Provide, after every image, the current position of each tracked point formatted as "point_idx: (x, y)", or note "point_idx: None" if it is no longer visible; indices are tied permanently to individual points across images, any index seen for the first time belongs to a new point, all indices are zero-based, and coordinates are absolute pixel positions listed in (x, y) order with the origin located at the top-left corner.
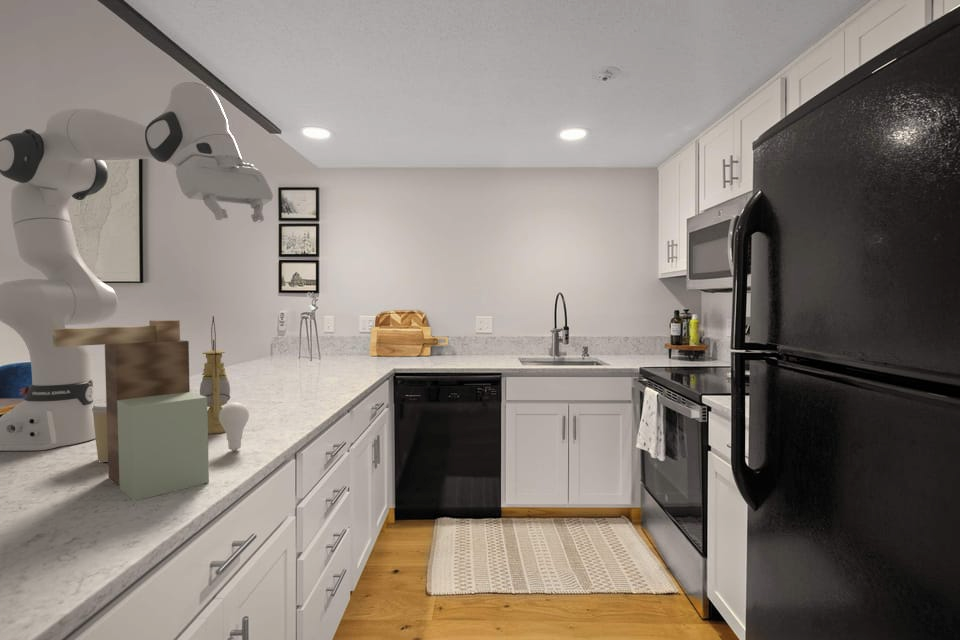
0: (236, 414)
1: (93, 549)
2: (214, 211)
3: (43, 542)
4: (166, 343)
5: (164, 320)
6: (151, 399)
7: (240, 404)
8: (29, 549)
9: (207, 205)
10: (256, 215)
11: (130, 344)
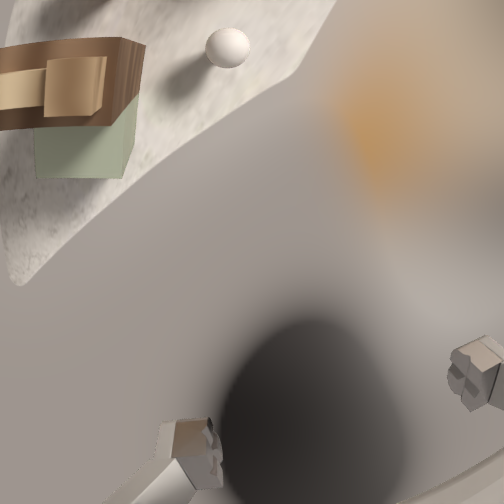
0: (220, 66)
1: (34, 223)
2: (156, 468)
3: (11, 187)
4: (71, 125)
5: (69, 85)
6: (64, 138)
7: (236, 56)
8: (5, 193)
9: (116, 499)
10: (463, 392)
11: (15, 128)
